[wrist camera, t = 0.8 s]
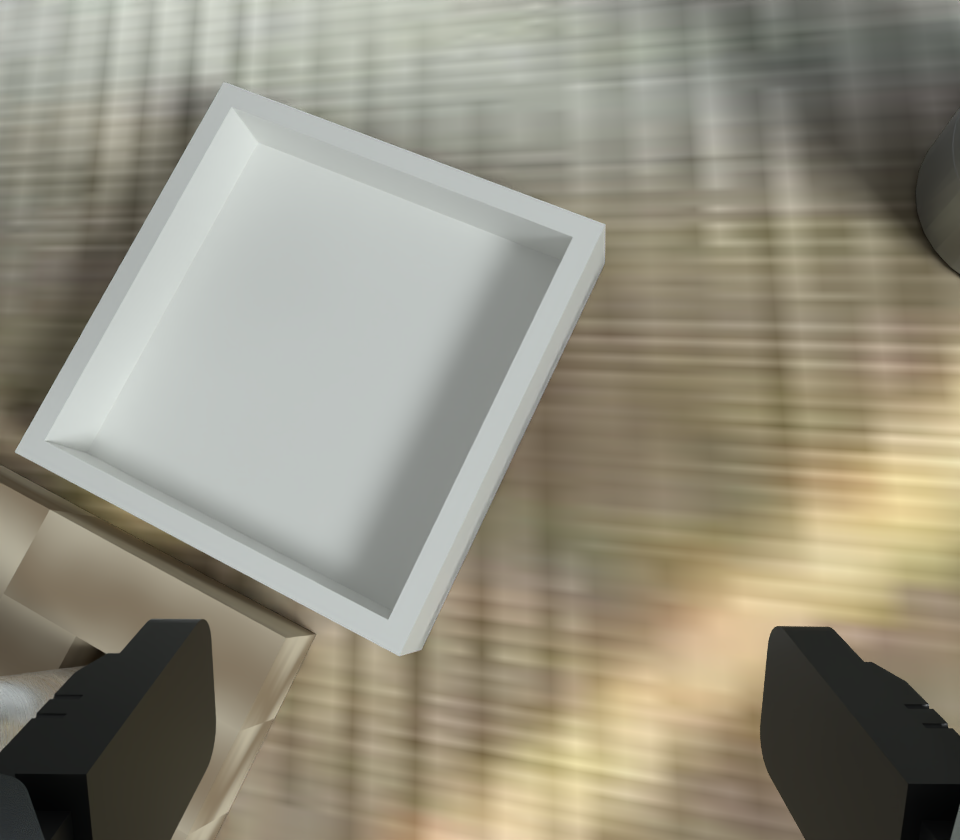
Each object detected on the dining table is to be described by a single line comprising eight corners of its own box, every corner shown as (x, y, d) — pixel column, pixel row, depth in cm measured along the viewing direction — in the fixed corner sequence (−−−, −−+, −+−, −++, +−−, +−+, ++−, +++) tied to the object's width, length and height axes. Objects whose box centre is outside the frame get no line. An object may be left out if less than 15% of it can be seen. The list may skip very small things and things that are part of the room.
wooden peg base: (-62, 431, 40) (-179, 401, 34) (315, 634, 36) (257, 641, 30) (-193, 657, 39) (-340, 668, 33) (183, 901, 34) (93, 967, 28)
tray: (258, 129, 41) (223, 81, 38) (604, 263, 37) (605, 224, 33) (72, 466, 39) (14, 452, 35) (421, 649, 35) (399, 656, 31)
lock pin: (122, 623, 37) (-260, 642, 21) (209, 672, 36) (-121, 735, 19) (69, 723, 36) (-369, 826, 20) (156, 776, 35) (-231, 931, 19)
